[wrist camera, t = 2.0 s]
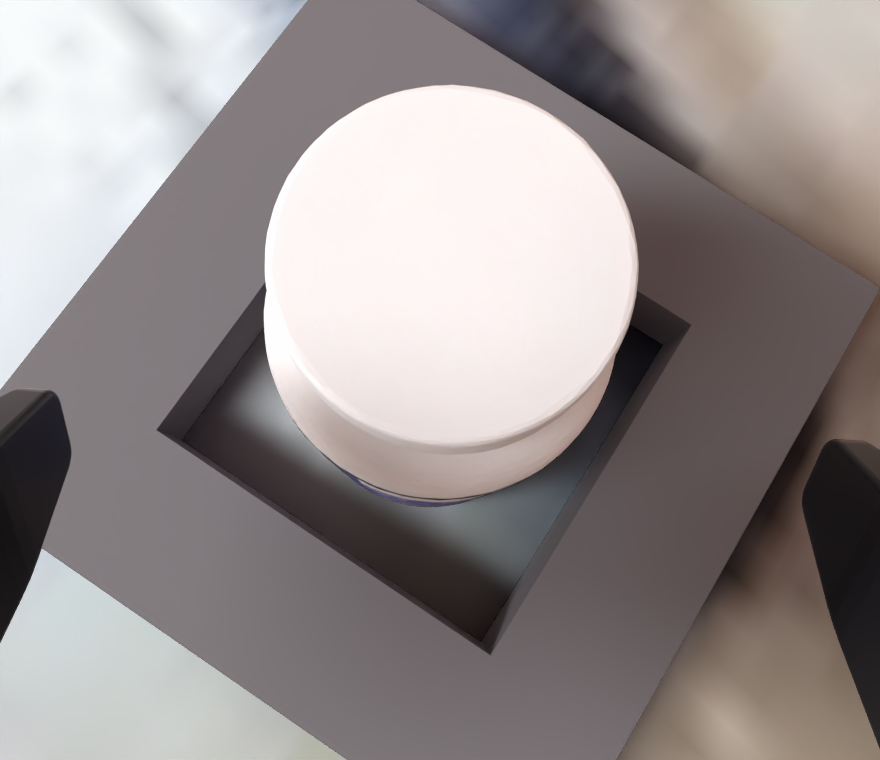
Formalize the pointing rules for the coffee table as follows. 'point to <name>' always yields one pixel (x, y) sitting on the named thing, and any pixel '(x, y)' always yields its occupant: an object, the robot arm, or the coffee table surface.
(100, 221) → the coffee table surface
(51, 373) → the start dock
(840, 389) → the coffee table surface
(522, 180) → the pill bottle
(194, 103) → the coffee table surface
